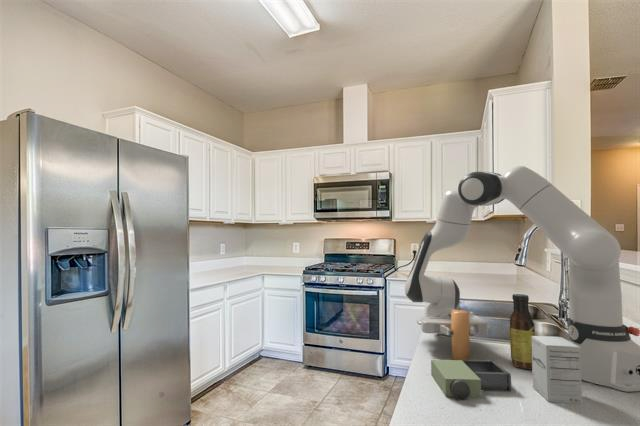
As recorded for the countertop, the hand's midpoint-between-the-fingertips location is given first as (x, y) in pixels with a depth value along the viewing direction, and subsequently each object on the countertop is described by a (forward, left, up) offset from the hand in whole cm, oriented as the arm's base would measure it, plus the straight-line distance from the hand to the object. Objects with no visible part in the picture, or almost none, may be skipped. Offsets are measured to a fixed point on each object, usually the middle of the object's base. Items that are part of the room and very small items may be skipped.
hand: (461, 332), depth 102 cm
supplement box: (-14, +21, -8) cm, 27 cm away
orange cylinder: (0, -1, -8) cm, 8 cm away
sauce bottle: (-16, +3, -8) cm, 18 cm away
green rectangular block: (+8, +17, -8) cm, 21 cm away
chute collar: (0, +15, -8) cm, 17 cm away
